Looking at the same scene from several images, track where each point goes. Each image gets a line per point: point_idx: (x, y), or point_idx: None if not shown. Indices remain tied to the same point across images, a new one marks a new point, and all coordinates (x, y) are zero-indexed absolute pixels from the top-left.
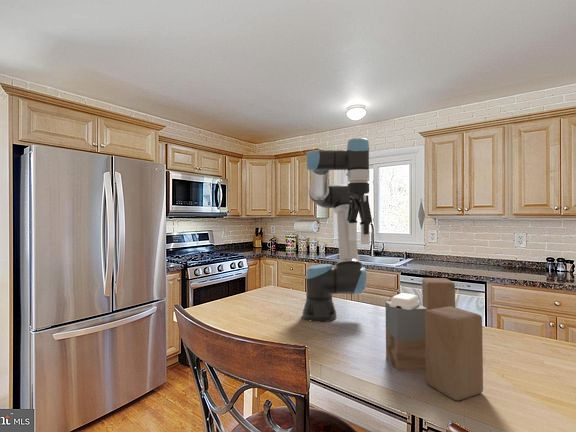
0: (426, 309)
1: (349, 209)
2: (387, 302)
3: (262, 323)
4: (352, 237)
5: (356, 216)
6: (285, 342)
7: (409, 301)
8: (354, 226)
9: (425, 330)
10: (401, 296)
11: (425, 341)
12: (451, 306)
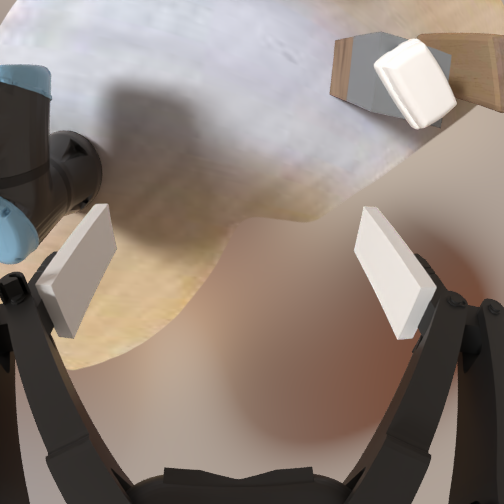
0: (449, 56)
1: (16, 446)
2: (381, 112)
3: (116, 285)
4: (105, 243)
5: (51, 352)
6: (219, 257)
7: (455, 99)
8: (69, 282)
9: (476, 103)
10: (433, 101)
11: (464, 99)
12: (500, 42)
